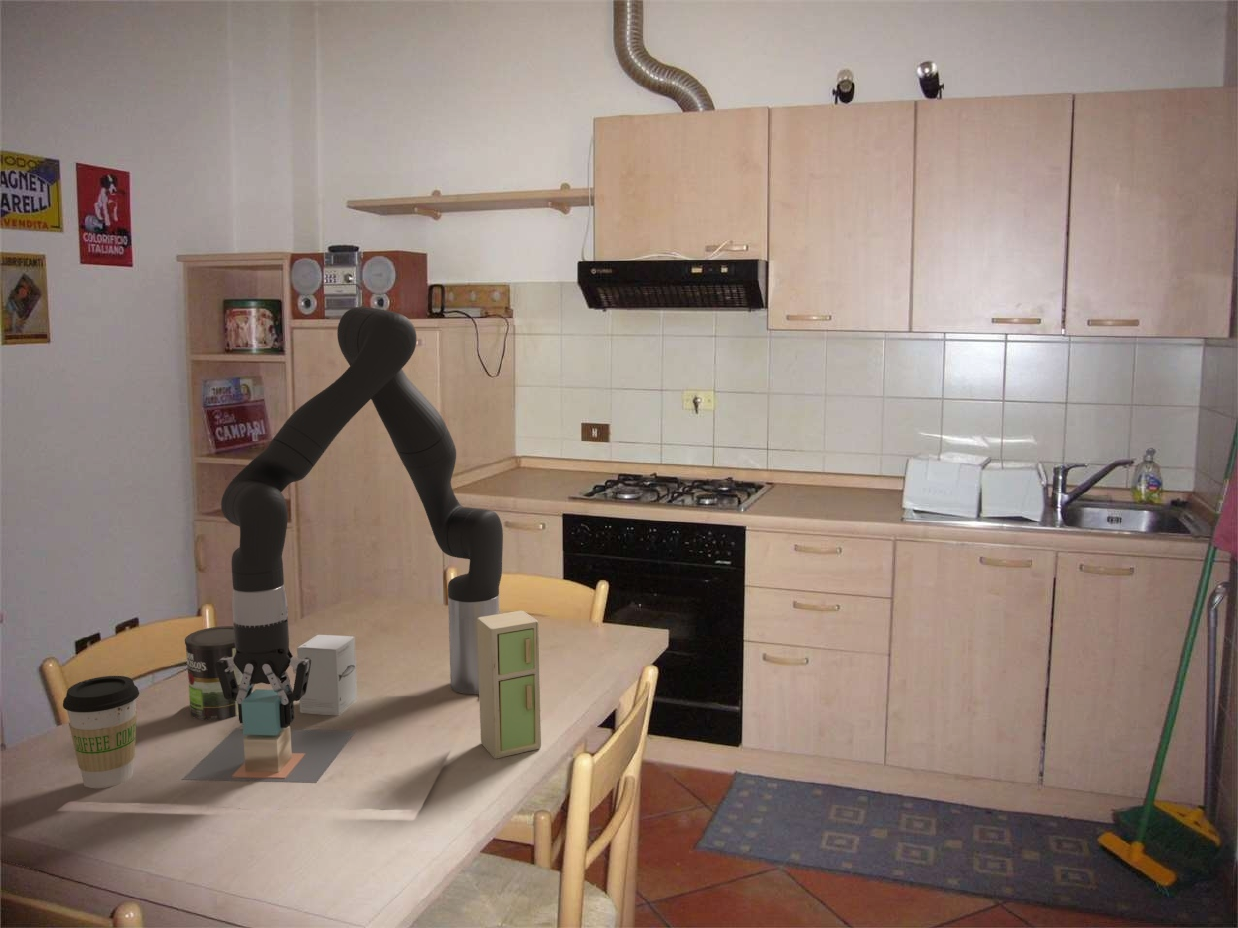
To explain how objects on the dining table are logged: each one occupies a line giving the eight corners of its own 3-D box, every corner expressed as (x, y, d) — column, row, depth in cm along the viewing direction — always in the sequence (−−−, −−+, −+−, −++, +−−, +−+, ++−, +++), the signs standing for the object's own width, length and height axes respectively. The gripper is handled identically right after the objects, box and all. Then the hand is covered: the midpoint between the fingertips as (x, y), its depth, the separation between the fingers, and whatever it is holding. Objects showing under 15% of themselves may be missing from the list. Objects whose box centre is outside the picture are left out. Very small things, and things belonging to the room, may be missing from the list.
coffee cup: (95, 806, 138) (86, 704, 136) (56, 789, 143) (47, 690, 141) (160, 778, 146) (152, 681, 144) (121, 763, 151) (113, 669, 149)
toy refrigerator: (495, 761, 151) (492, 629, 148) (479, 743, 158) (476, 616, 154) (543, 751, 155) (541, 621, 152) (525, 733, 161) (523, 609, 158)
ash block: (278, 772, 145) (276, 740, 145) (245, 771, 146) (243, 739, 145) (291, 757, 150) (290, 726, 150) (259, 756, 151) (258, 725, 150)
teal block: (289, 721, 149) (288, 689, 149) (276, 735, 144) (274, 702, 144) (257, 720, 150) (255, 689, 149) (243, 734, 145) (241, 702, 144)
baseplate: (356, 736, 160) (356, 729, 160) (316, 788, 143) (316, 781, 142) (236, 733, 162) (235, 727, 161) (182, 785, 144) (181, 778, 144)
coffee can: (207, 731, 163) (201, 649, 160) (179, 714, 170) (174, 635, 167) (265, 713, 170) (261, 634, 168) (237, 697, 177) (232, 621, 175)
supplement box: (339, 721, 166) (335, 649, 165) (298, 718, 168) (294, 646, 166) (359, 704, 174) (355, 635, 172) (320, 701, 175) (316, 633, 173)
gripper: (200, 622, 141) (208, 735, 144) (298, 624, 140) (305, 737, 143) (224, 607, 149) (231, 714, 151) (317, 608, 148) (323, 716, 150)
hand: (267, 724), depth 147 cm, fingers open, 5 cm apart
